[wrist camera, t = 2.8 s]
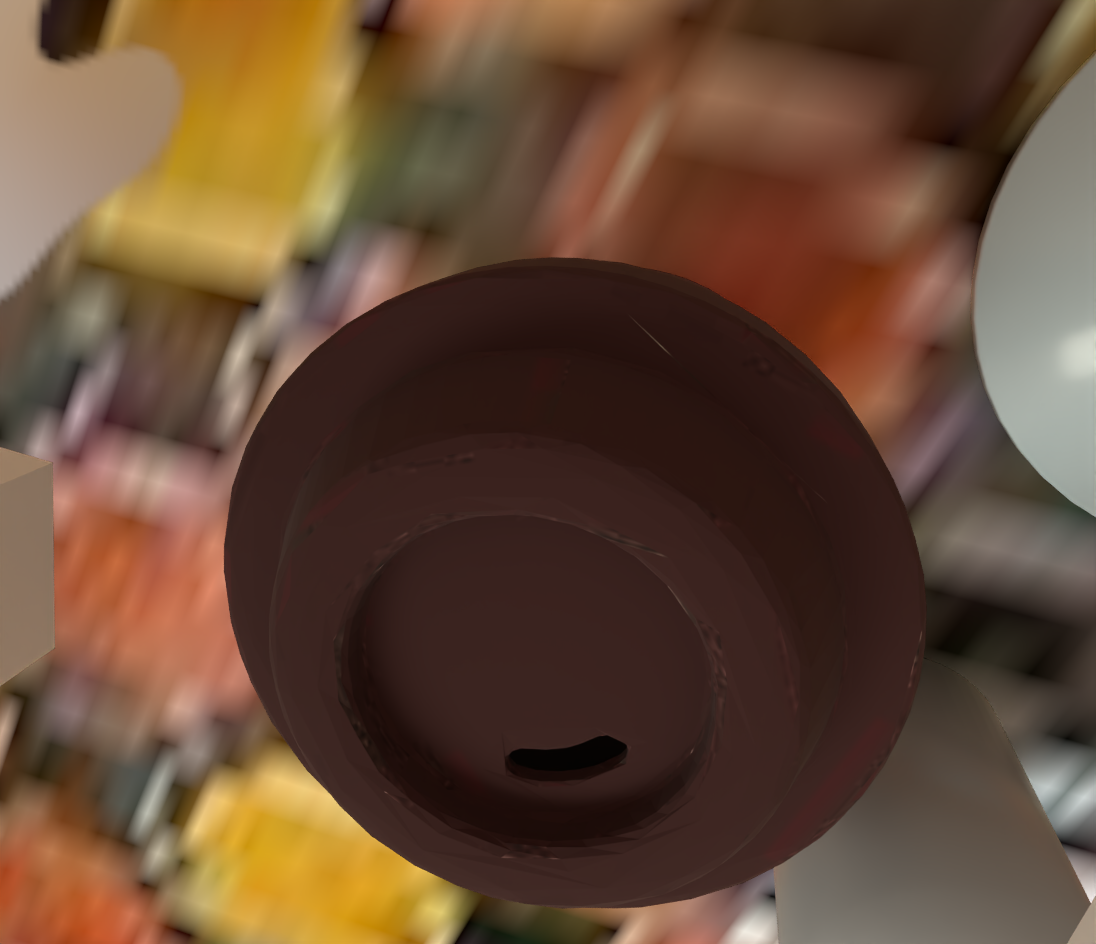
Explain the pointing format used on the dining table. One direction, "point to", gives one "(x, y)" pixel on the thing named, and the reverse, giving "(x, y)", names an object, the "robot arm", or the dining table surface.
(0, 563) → the robot arm
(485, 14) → the dining table surface
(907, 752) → the grey rounded capsule
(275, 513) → the coffee cup
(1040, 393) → the pale grey round disc
